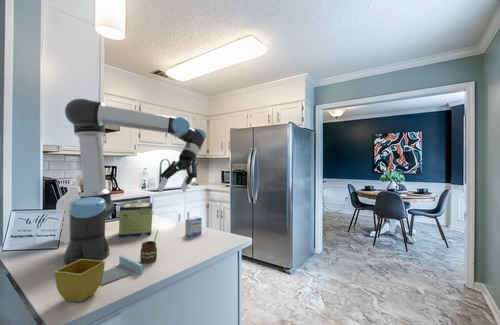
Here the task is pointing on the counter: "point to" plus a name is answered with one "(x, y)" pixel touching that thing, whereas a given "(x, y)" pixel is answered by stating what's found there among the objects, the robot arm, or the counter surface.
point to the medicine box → (193, 226)
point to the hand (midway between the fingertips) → (170, 190)
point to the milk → (67, 210)
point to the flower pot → (79, 279)
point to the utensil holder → (148, 251)
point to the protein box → (135, 219)
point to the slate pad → (113, 275)
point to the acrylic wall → (131, 264)
